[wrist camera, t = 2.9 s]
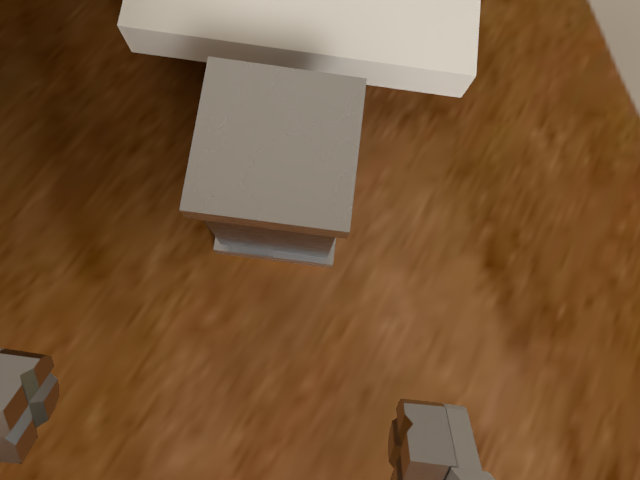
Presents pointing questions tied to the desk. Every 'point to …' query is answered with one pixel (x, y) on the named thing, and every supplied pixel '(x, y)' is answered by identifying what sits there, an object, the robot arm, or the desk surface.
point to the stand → (319, 37)
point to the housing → (274, 160)
